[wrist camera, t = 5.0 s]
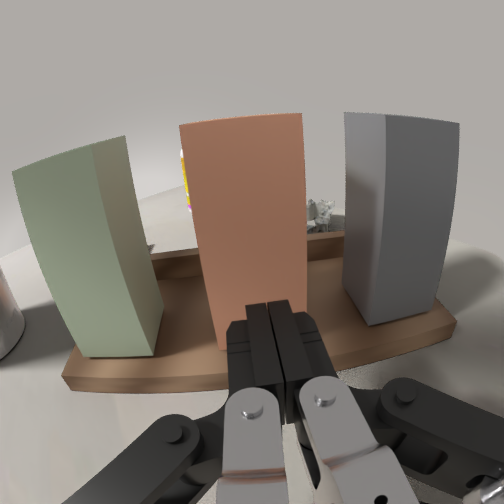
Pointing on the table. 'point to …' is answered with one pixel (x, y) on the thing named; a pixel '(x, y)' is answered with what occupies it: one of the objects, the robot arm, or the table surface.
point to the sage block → (93, 247)
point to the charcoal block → (397, 211)
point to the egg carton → (319, 215)
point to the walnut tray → (215, 361)
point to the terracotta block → (248, 211)
